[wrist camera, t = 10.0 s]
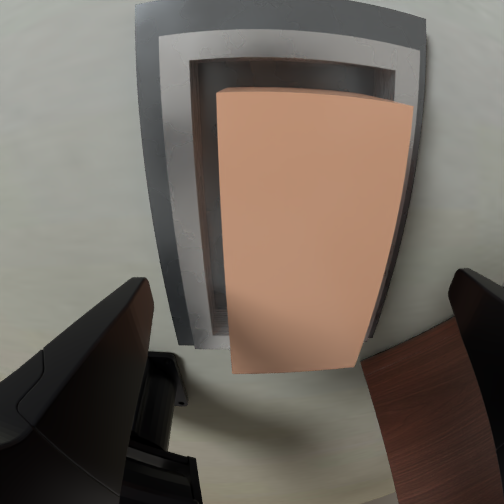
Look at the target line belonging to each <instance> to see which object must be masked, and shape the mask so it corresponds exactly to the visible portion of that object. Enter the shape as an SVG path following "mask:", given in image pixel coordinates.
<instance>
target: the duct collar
mask: <svg viewBox="0 0 504 504" xmlns="http://www.w3.org/2000/svg"><path fill="white" fill-rule="evenodd" d="M135 45H136V71H137V89H138V103H139V115H140V126H141V137H142V146H143V155H144V163H145V171H146V179H147V186H148V193H149V200H150V207H151V213H152V219H153V225H154V231H155V237H156V243H157V248H158V253H159V259H160V264H161V269H162V274H163V279H164V284H165V288H166V293H167V298H168V302H169V307H170V311H171V315H172V320H173V324H174V328H175V332H176V336H177V340H178V344H179V345H194V346H195V349H230V339H229V326H228V313H227V299H226V285H225V270H224V255H223V238H222V221H221V202H220V182H219V159H218V133H217V102H216V93H217V92H219V91H221V90H223V89H225V88H227V87H291V88H310V89H324V90H335V91H345V92H354V93H359V94H364V95H369V96H374V97H378V98H383V99H387V100H391V101H395V102H399V103H403V104H407V105H411V106H414V108H413V118H412V128H411V137H410V145H409V152H408V159H407V166H406V172H405V179H404V184H403V190H402V196H401V201H400V206H399V211H398V216H397V221H396V226H395V230H394V235H393V239H392V244H391V248H390V252H389V256H388V260H387V264H386V268H385V272H384V275H383V279H382V283H381V286H380V290H379V293H378V297H377V300H376V304H375V307H374V310H373V313H372V317H371V320H370V323H369V326H368V329H367V332H366V335H365V338H364V341H363V342H367V339H368V338H373V335H374V332H375V329H376V326H377V323H378V320H379V317H380V314H381V311H382V308H383V305H384V302H385V298H386V295H387V292H388V288H389V285H390V282H391V278H392V274H393V271H394V267H395V263H396V260H397V256H398V252H399V248H400V244H401V240H402V235H403V231H404V227H405V222H406V218H407V213H408V208H409V203H410V198H411V193H412V187H413V182H414V176H415V170H416V163H417V157H418V149H419V142H420V134H421V125H422V115H423V104H424V90H425V72H426V19H424V18H421V17H418V16H414V15H411V14H407V13H404V12H400V11H396V10H392V9H388V8H384V7H380V6H375V5H370V4H366V3H360V2H355V1H349V0H157V1H152V2H146V3H141V4H136V5H135Z"/></svg>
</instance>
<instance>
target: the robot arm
mask: <svg viewBox="0 0 504 504" xmlns="http://www.w3.org/2000/svg"><path fill="white" fill-rule="evenodd" d="M448 297H449V300H450V303H451V306H452V309H453V312H454V315H455V319H456V322H457V325H458V328H459V332H460V335H461V338H462V341H463V343H464V346H465V349H466V351H467V354H468V357H469V359H470V362H471V365H472V368H473V371H474V374H475V377H476V380H477V383H478V386H479V389H480V392H481V395H482V399H483V402H484V405H485V409H486V412H487V416H488V420H489V424H490V428H491V432H492V436H493V440H494V444H495V449H496V455H497V460H498V465H499V471H500V477H501V483H502V490H503V498H504V288H503V287H502V286H500V285H498V284H496V283H495V282H493V281H491V280H489V279H488V278H486V277H484V276H482V275H480V274H478V273H477V272H475V271H473V270H471V269H469V268H462V269H458V270H457V271H456V273H455V275H454V278H453V280H452V283H451V285H450V288H449V291H448ZM153 312H154V301H153V297H152V293H151V289H150V285H149V281H148V280H147V278H145V277H133V278H131V279H129V280H128V281H127V282H125V283H124V284H123V285H122V286H120V287H119V288H118V289H116V290H115V291H114V292H112V293H111V294H110V295H109V296H107V297H106V298H105V299H103V300H102V301H101V302H100V303H98V304H97V305H96V306H94V307H93V308H92V309H91V310H89V311H88V312H87V313H86V314H84V315H83V316H82V317H81V318H79V319H78V320H77V321H76V322H74V323H73V324H72V325H71V326H69V327H68V328H67V329H66V330H64V331H63V332H62V333H61V334H60V335H58V336H57V337H56V338H55V339H53V340H52V341H51V342H50V343H49V344H47V345H46V346H45V347H44V348H43V350H40V351H39V352H38V353H37V354H35V355H34V356H33V357H32V358H31V359H29V360H28V361H27V362H26V363H24V364H23V365H22V366H21V367H20V368H18V369H17V370H16V371H14V372H13V373H12V374H11V375H9V376H8V377H7V378H5V379H4V380H3V381H1V382H0V504H203V502H202V496H201V490H200V483H199V477H198V470H197V463H196V458H193V457H190V456H187V457H185V456H182V455H178V454H175V453H171V452H168V446H169V439H170V431H171V424H172V417H173V411H174V406H187V405H188V398H187V395H186V391H185V388H184V385H183V382H182V379H181V375H180V372H179V369H178V365H177V362H176V358H175V356H174V355H172V354H170V353H159V352H148V349H149V341H150V333H151V326H152V319H153Z"/></svg>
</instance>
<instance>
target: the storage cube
mask: <svg viewBox="0 0 504 504" xmlns="http://www.w3.org/2000/svg"><path fill="white" fill-rule="evenodd" d="M503 288H504V287H503ZM360 363H361V366H362V369H363V373H364V376H365V379H366V382H367V385H368V389H369V392H370V395H371V399H372V402H373V405H374V409H375V412H376V416H377V419H378V423H379V426H380V430H381V434H382V437H383V441H384V445H385V448H386V452H387V456H388V460H389V464H390V468H391V472H392V476H393V480H394V485H395V489H396V493H397V498H398V502H399V504H504V498H503V490H502V483H501V477H500V471H499V465H498V460H497V455H496V449H495V444H494V440H493V436H492V432H491V428H490V424H489V420H488V416H487V412H486V409H485V405H484V402H483V399H482V395H481V392H480V389H479V386H478V383H477V380H476V377H475V374H474V371H473V368H472V365H471V362H470V359H469V357H468V354H467V351H466V349H465V346H464V343H463V341H462V338H461V335H460V332H459V328H458V325H457V322H456V319H455V316H454V317H452V318H451V319H449V320H447V321H445V322H443V323H441V324H439V325H437V326H436V327H434V328H432V329H430V330H428V331H426V332H424V333H422V334H420V335H418V336H416V337H414V338H412V339H410V340H408V341H405V342H403V343H401V344H399V345H397V346H395V347H393V348H390V349H388V350H386V351H384V352H381V353H379V354H377V355H374V356H372V357H370V358H367V359H365V360H363V361H360Z"/></svg>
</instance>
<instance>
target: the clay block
mask: <svg viewBox="0 0 504 504" xmlns="http://www.w3.org/2000/svg"><path fill="white" fill-rule="evenodd" d="M216 102H217V133H218V159H219V182H220V202H221V221H222V238H223V255H224V270H225V285H226V299H227V313H228V326H229V339H230V351H231V363H232V374H260V373H286V372H304V371H317V370H329V369H340V368H350V367H354V366H355V364H356V361H357V358H358V355H359V353H360V350H361V347H362V344H363V341H364V338H365V335H366V332H367V329H368V326H369V323H370V320H371V317H372V313H373V310H374V307H375V304H376V300H377V297H378V293H379V290H380V286H381V283H382V279H383V275H384V272H385V268H386V264H387V260H388V256H389V252H390V248H391V244H392V239H393V235H394V230H395V226H396V221H397V216H398V211H399V206H400V201H401V196H402V190H403V184H404V179H405V172H406V166H407V159H408V152H409V145H410V137H411V128H412V118H413V108H414V106H411V105H407V104H403V103H399V102H395V101H391V100H387V99H383V98H378V97H374V96H369V95H364V94H359V93H354V92H345V91H335V90H324V89H310V88H291V87H227V88H225V89H223V90H221V91H219V92H217V93H216Z"/></svg>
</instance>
